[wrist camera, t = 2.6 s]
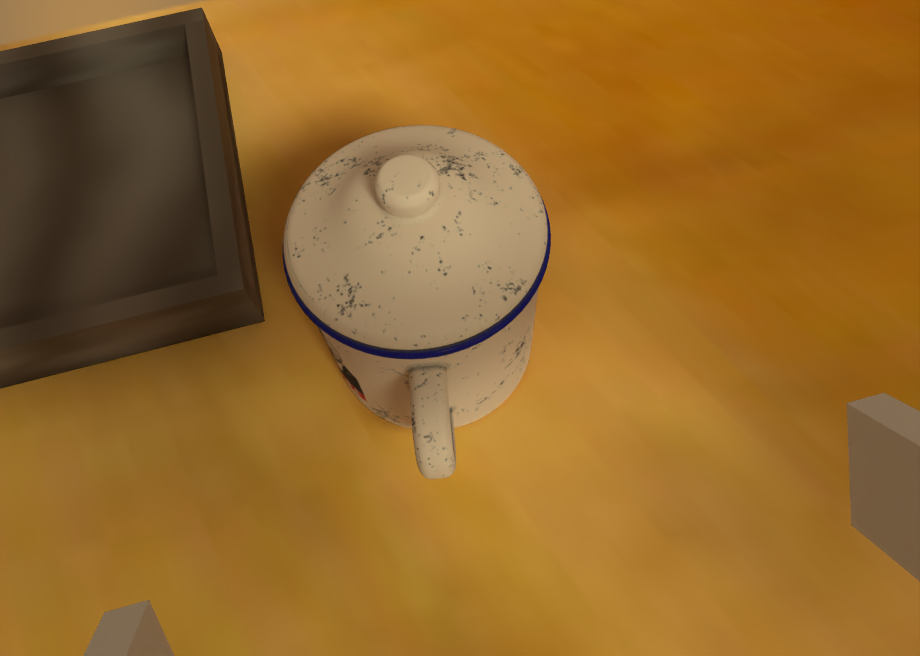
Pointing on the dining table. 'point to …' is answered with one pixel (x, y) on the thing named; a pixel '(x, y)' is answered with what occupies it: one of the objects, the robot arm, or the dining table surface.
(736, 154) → the dining table surface
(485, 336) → the teacup with lid
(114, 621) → the robot arm
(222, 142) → the tea tray
